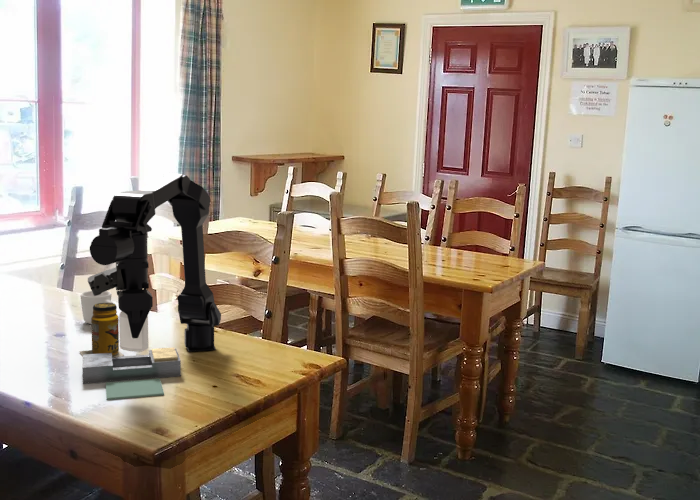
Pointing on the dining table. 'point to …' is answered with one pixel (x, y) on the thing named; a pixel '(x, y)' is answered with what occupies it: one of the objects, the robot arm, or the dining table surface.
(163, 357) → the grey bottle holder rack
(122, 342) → the eye dropper bottle
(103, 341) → the condiment
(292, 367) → the dining table surface
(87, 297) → the cup
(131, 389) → the mat
